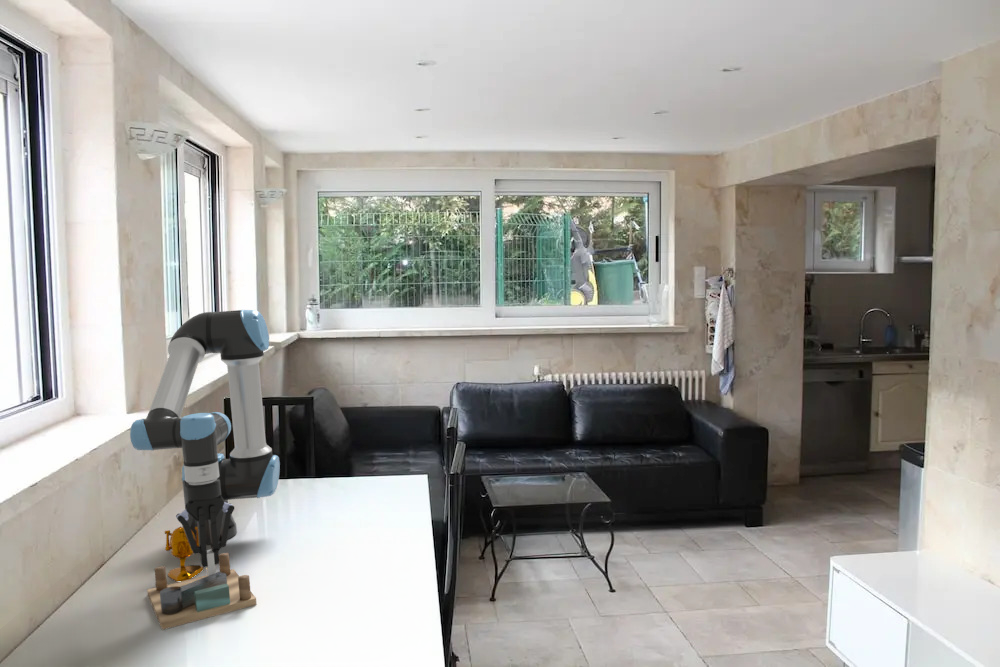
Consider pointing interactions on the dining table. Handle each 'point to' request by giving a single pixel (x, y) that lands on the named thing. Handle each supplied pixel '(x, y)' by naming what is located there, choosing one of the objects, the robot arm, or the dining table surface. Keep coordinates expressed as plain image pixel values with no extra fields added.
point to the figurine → (181, 554)
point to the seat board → (191, 610)
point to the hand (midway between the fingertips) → (211, 578)
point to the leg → (187, 593)
